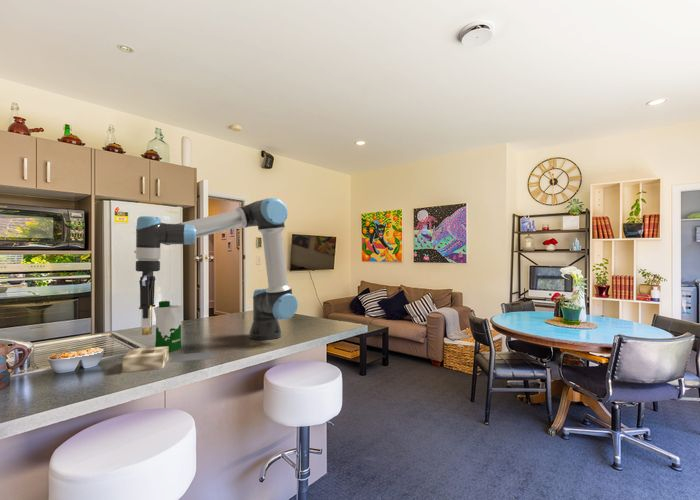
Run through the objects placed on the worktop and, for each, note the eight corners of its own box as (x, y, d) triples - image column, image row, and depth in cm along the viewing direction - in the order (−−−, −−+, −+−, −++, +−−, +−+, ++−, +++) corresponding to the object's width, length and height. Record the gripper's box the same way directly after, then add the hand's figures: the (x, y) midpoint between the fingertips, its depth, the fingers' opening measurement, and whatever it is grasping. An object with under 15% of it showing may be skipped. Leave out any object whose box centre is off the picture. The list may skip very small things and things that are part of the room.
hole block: (168, 359, 133) (168, 346, 133) (162, 369, 121) (162, 355, 121) (131, 362, 129) (132, 348, 129) (122, 373, 117) (122, 358, 118)
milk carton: (166, 347, 150) (166, 300, 150) (185, 348, 148) (185, 300, 149) (150, 352, 142) (151, 302, 142) (170, 354, 140) (171, 303, 140)
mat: (212, 352, 142) (212, 351, 142) (210, 359, 133) (210, 358, 133) (173, 355, 138) (173, 354, 138) (169, 363, 128) (169, 362, 128)
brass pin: (152, 333, 127) (152, 305, 127) (150, 334, 124) (151, 306, 124) (142, 333, 126) (143, 305, 126) (140, 335, 123) (141, 306, 123)
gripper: (141, 259, 132) (140, 323, 131) (130, 260, 117) (128, 331, 117) (163, 259, 134) (162, 321, 134) (155, 260, 119) (154, 330, 119)
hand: (147, 326), depth 125 cm, fingers closed on brass pin, 2 cm apart
